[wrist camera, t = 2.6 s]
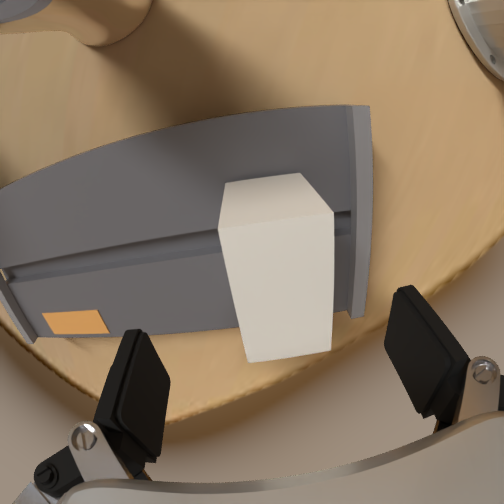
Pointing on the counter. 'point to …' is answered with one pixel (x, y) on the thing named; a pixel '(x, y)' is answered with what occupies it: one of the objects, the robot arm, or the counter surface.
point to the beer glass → (75, 18)
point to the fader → (279, 265)
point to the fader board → (173, 222)
